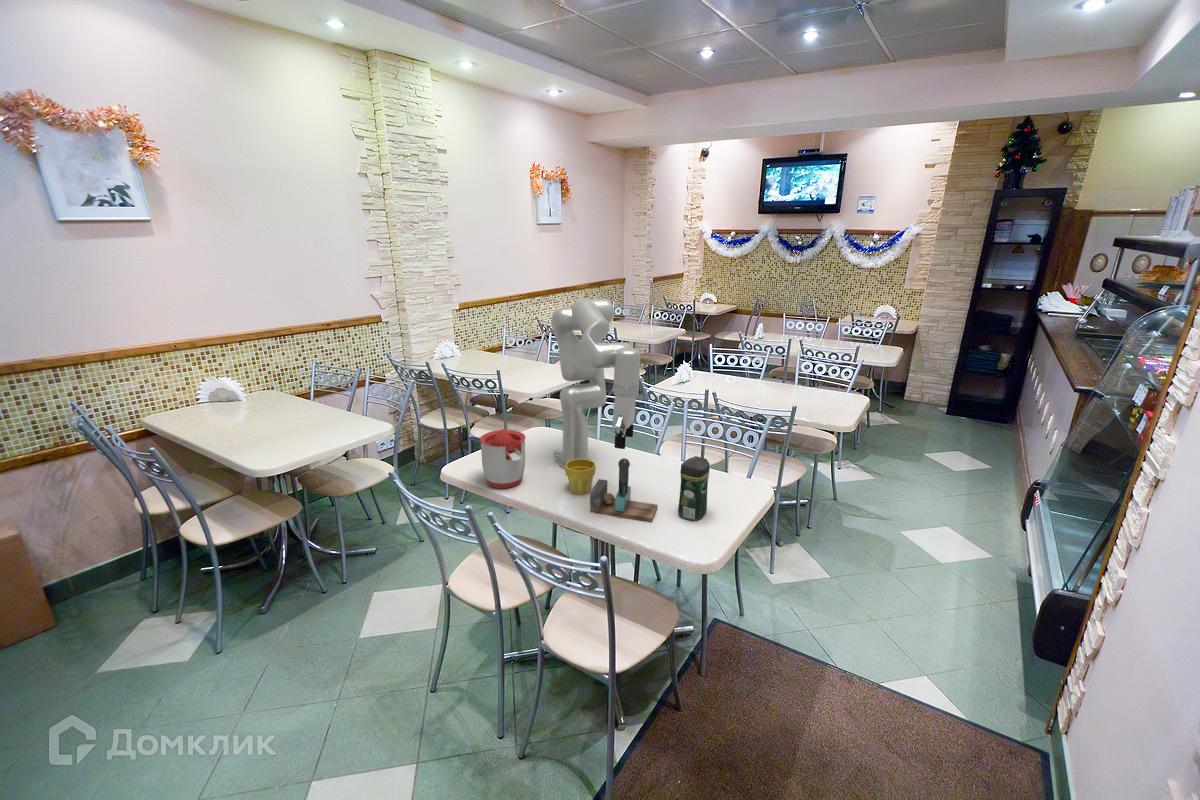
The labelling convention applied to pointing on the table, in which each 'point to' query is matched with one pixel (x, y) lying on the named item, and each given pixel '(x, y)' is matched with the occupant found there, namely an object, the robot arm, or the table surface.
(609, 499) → the walnut
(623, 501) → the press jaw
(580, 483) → the plant pot
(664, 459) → the table surface
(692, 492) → the coffee jar
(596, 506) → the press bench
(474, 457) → the table surface
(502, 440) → the citrus juicer
